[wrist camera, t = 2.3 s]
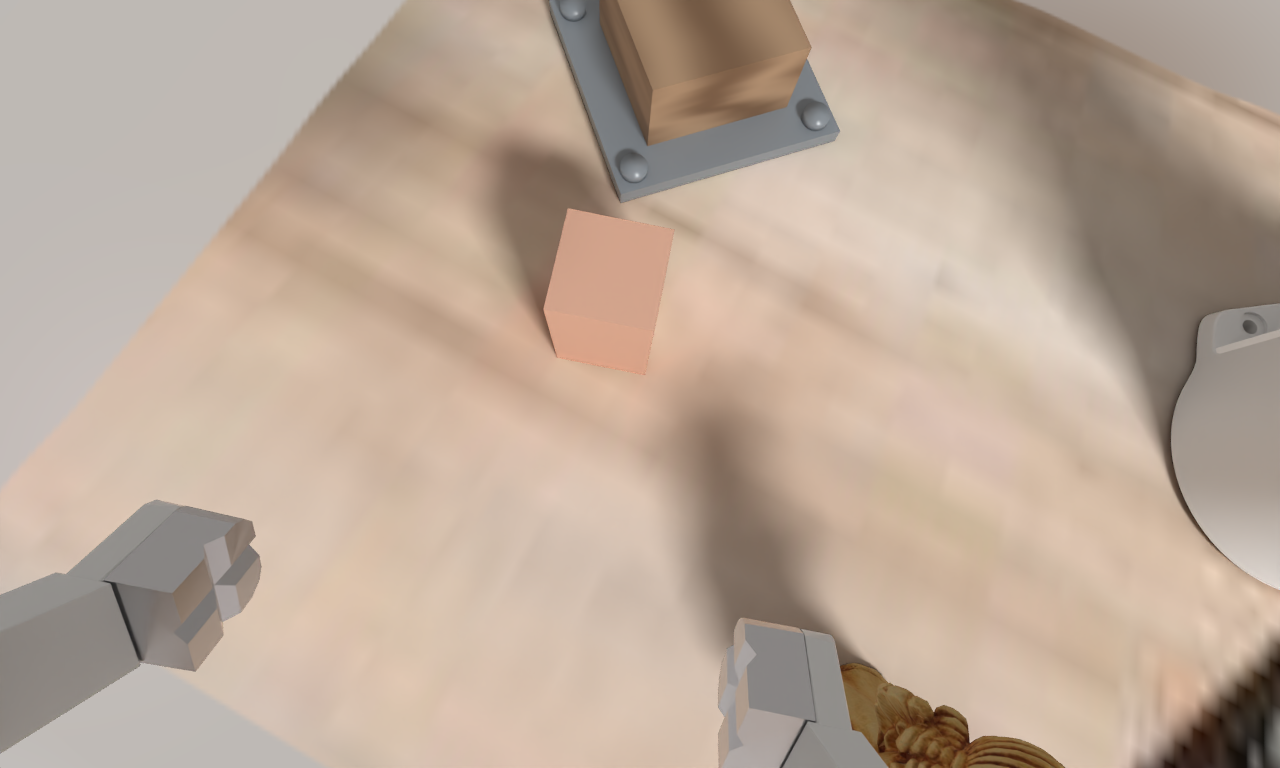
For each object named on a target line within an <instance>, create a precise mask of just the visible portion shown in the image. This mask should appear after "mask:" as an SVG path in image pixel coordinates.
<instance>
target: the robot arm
mask: <svg viewBox="0 0 1280 768" xmlns="http://www.w3.org/2000/svg"><path fill="white" fill-rule="evenodd" d="M1243 328H1244V329H1245V330H1244V329H1243ZM1171 451H1172V459H1173V464H1174V469H1175V473H1176V477H1177V480H1178V483H1179V486H1180V489H1181V492H1182V494H1183V497H1184V499H1185V501H1186V503H1187V505H1188V507H1189V509H1190V511H1191V513H1192V515H1193V516H1194V518H1195V519H1196V521H1197V523H1198V524H1199V526H1200V527H1201V528H1202V530H1203V531H1204V533H1205V534H1206V535H1207V536H1208V538H1209V539H1210V540H1211V541H1212V542H1213V544H1214V545H1215V546H1216V547H1217V548H1218V549H1219V550H1220V551H1221V552H1222V553H1223V554H1224V555H1225V556H1226V557H1227V558H1228V559H1230V560H1231V561H1232V562H1233V563H1234V564H1235V565H1237V566H1238V567H1239V568H1241V569H1242V570H1243V571H1245V572H1246V573H1248V574H1249V575H1251V576H1252V577H1254V578H1256V579H1257V580H1259V581H1261V582H1263V583H1265V584H1267V585H1269V586H1271V587H1273V588H1276V589H1278V590H1280V303H1277V304H1269V305H1261V306H1253V307H1245V308H1237V309H1229V310H1224V311H1220V312H1216V313H1212V314H1209V315H1207V316H1205V317H1204V318H1203V319H1202V321H1201V323H1200V326H1199V330H1198V337H1197V358H1196V364H1195V367H1194V369H1193V371H1192V373H1191V375H1190V377H1189V379H1188V380H1187V382H1186V384H1185V386H1184V388H1183V389H1182V391H1181V394H1180V396H1179V398H1178V401H1177V404H1176V407H1175V411H1174V415H1173V420H1172V429H1171ZM255 537H256V535H255V531H254V527H253V523H252V521H249V520H245V519H241V518H237V517H232V516H228V515H224V514H219V513H215V512H210V511H206V510H202V509H197V508H193V507H188V506H183V505H178V504H174V503H169V502H164V501H160V500H154V501H152V502H149V503H147V504H144V505H143V506H142V507H141V508H140V509H138V510H137V511H136V512H135V513H134V514H133V515H132V516H131V517H129V518H128V519H127V520H126V521H125V522H124V523H123V524H122V525H121V526H119V527H118V528H117V529H116V530H115V531H114V532H113V533H112V534H110V535H109V536H108V537H107V538H106V539H105V540H104V541H103V542H101V543H100V544H99V545H98V546H97V547H96V548H95V549H94V550H93V551H91V552H90V553H89V554H88V555H87V556H86V557H85V558H84V559H82V560H81V561H80V562H79V563H78V564H77V565H76V566H75V567H74V568H72V569H71V570H70V571H69V572H68V573H67V574H62V573H54V574H51V575H49V576H46V577H44V578H41V579H39V580H37V581H34V582H32V583H29V584H27V585H24V586H22V587H19V588H17V589H14V590H12V591H9V592H7V593H4V594H2V595H0V753H2V752H4V751H5V750H7V749H8V748H10V747H11V746H13V745H15V744H16V743H18V742H19V741H21V740H23V739H24V738H26V737H27V736H29V735H31V734H32V733H34V732H35V731H37V730H39V729H40V728H42V727H43V726H45V725H47V724H48V723H50V722H51V721H53V720H55V719H56V718H58V717H59V716H61V715H62V714H64V713H66V712H67V711H69V710H70V709H72V708H74V707H75V706H77V705H78V704H80V703H82V702H83V701H85V700H86V699H88V698H90V697H91V696H93V695H94V694H96V693H98V692H99V691H101V690H102V689H104V688H105V687H107V686H109V685H110V684H112V683H114V682H115V681H117V680H118V679H120V678H122V677H123V676H125V675H126V674H127V673H129V672H131V671H132V670H134V669H136V668H137V667H139V666H140V662H141V663H147V664H153V665H159V666H165V667H171V668H177V669H183V670H189V671H195V672H196V670H197V669H198V668H199V667H200V665H201V664H202V663H203V661H204V660H205V659H206V657H207V656H208V655H209V654H210V652H211V651H212V650H213V648H214V647H215V646H216V644H217V643H218V642H219V641H220V639H221V638H222V637H223V621H225V620H227V619H229V618H231V617H233V616H235V615H237V614H239V613H241V612H242V610H243V609H244V608H245V606H246V605H247V603H248V602H249V601H250V599H251V598H252V596H253V594H254V592H255V589H256V587H257V584H258V582H259V580H260V572H261V562H260V556H259V555H258V553H257V552H256V551H255V550H254V549H253V548H252V547H251V546H250V545H249V544H250V543H251V541H252V540H253V539H254V538H255ZM718 707H719V709H720V711H721V712H722V714H723V715H724V717H725V718H724V720H723V723H722V725H721V728H720V730H719V733H718V753H719V768H888V767H887V765H886V764H885V763H884V761H883V760H882V759H881V757H880V756H879V755H878V753H877V752H876V751H875V749H874V748H873V747H872V746H871V744H870V743H869V742H868V740H867V739H866V738H865V736H864V735H863V734H862V732H858V731H854V730H852V727H851V722H850V716H849V711H848V706H847V701H846V696H845V691H844V685H843V680H842V675H841V670H840V665H839V660H838V654H837V649H836V644H835V640H834V639H833V637H832V636H831V635H829V634H824V633H819V632H814V631H809V630H804V629H799V628H797V627H791V626H786V625H780V624H775V623H770V622H764V621H759V620H754V619H748V618H743V617H741V618H740V619H739V620H738V622H737V624H736V627H735V629H734V645H732V646H731V647H729V648H727V650H726V653H725V656H724V658H723V661H722V666H721V671H720V676H719V687H718Z"/></svg>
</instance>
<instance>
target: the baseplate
mask: <svg viewBox="0 0 1280 768" xmlns="http://www.w3.org/2000/svg"><path fill="white" fill-rule="evenodd" d="M549 4H550V13H551V15H552V18H553V21H554V24H555V26H556V29H557V32H558V34H559V37H560V40H561V43H562V45H563V48H564V51H565V53H566V56H567V59H568V62H569V64H570V67H571V70H572V72H573V75H574V78H575V81H576V83H577V86H578V89H579V91H580V94H581V97H582V100H583V102H584V105H585V108H586V110H587V113H588V116H589V119H590V121H591V124H592V127H593V129H594V132H595V135H596V138H597V140H598V143H599V146H600V149H601V151H602V154H603V157H604V159H605V162H606V165H607V168H608V170H609V173H610V176H611V178H612V181H613V184H614V187H615V189H616V192H617V195H618V197H619V200H620V203H622V202H625V201H629V200H632V199H636V198H639V197H643V196H646V195H650V194H653V193H656V192H660V191H663V190H667V189H670V188H674V187H677V186H681V185H684V184H687V183H691V182H694V181H698V180H701V179H705V178H708V177H712V176H715V175H718V174H722V173H725V172H729V171H732V170H736V169H739V168H743V167H746V166H749V165H753V164H756V163H760V162H763V161H767V160H770V159H773V158H777V157H780V156H784V155H787V154H791V153H794V152H798V151H801V150H804V149H808V148H811V147H815V146H818V145H822V144H825V143H829V142H832V141H835V139H836V137H837V135H838V134H839V132H840V130H839V128H838V126H837V123H836V121H835V119H834V117H833V115H832V112H831V110H830V108H829V106H828V104H827V101H826V99H825V97H824V95H823V93H822V91H821V88H820V86H819V84H818V82H817V80H816V77H815V75H814V73H813V71H812V69H811V66H810V64H809V62H808V60H807V59H806V62H805V64H804V67H803V69H802V72H801V74H800V76H799V79H798V81H797V84H796V86H795V88H794V91H793V93H792V96H791V98H790V101H789V103H788V105H787V107H785V108H782V109H778V110H775V111H771V112H767V113H764V114H760V115H757V116H753V117H750V118H746V119H743V120H739V121H735V122H732V123H728V124H725V125H721V126H718V127H714V128H711V129H707V130H703V131H700V132H696V133H693V134H689V135H686V136H682V137H679V138H675V139H671V140H668V141H664V142H661V143H657V144H654V145H650V146H647V144H646V142H645V139H644V136H643V134H642V131H641V129H640V126H639V123H638V121H637V118H636V116H635V113H634V110H633V108H632V105H631V103H630V100H629V97H628V95H627V92H626V90H625V87H624V84H623V82H622V79H621V77H620V74H619V71H618V69H617V66H616V64H615V61H614V59H613V56H612V53H611V51H610V48H609V46H608V43H607V40H606V38H605V35H604V33H603V30H602V27H601V25H600V10H599V0H549Z"/></svg>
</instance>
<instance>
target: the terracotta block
mask: <svg viewBox="0 0 1280 768" xmlns="http://www.w3.org/2000/svg"><path fill="white" fill-rule="evenodd" d="M673 235H674V229H669V228H664V227H659V226H654V225H649V224H644V223H639V222H634V221H629V220H624V219H619V218H614V217H609V216H604V215H599V214H594V213H589V212H584V211H579V210H574V209H569V208H568V210H567V214H566V218H565V222H564V226H563V230H562V234H561V238H560V243H559V247H558V251H557V255H556V259H555V263H554V267H553V271H552V276H551V280H550V284H549V288H548V292H547V296H546V300H545V304H544V308H543V310H544V313H545V317H546V320H547V324H548V327H549V331H550V334H551V338H552V341H553V345H554V348H555V352H556V355H557V358H562V359H567V360H572V361H577V362H582V363H587V364H592V365H597V366H602V367H607V368H612V369H617V370H622V371H627V372H632V373H637V374H642V375H645V371H646V367H647V362H648V358H649V353H650V349H651V344H652V340H653V335H654V331H655V326H656V321H657V316H658V311H659V306H660V300H661V295H662V290H663V285H664V280H665V275H666V270H667V265H668V260H669V255H670V250H671V245H672V240H673Z"/></svg>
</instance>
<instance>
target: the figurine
mask: <svg viewBox="0 0 1280 768" xmlns="http://www.w3.org/2000/svg"><path fill="white" fill-rule="evenodd" d="M840 670H841V675H842V680H843V685H844V691H845V696H846V701H847V706H848V711H849V716H850V722H851V727H852V730H854V731H858V732H862V734H863V735H864V736H865V738H866V739H867V740H868V742H869V743H870V744H871V746H872V747H873V748H874V749H875V751H876V752H877V753H878V755H879V756H880V757H881V759H882V760H883V761H884V763H885V764H886V765H887V767H888V768H1065V767H1064V766H1063V765H1062V764H1061V763H1059V762H1058V761H1057V760H1056V759H1054V758H1053V757H1052V756H1051V755H1050V754H1048V753H1047V752H1046V751H1044V750H1043V749H1041V748H1039V747H1037V746H1035V745H1033V744H1031V743H1028V742H1025V741H1022V740H1020V739H1015V738H1009V737H998V736H982V737H980V738H978V739H976V740H974V741H973V742H971V743H970V742H969V733H968V724H967V721H966V718H965V717H963V716H962V715H961V714H960V713H959V712H958V711H956V710H955V709H953V708H951V707H948V706H945V705H943V706H940V707H937V708H936V709H935V712H933V710H932V709H931V707H930V705H929V703H928V702H927V701H925V700H923V699H922V698H920V697H918V696H914V695H913V693H911V692H910V691H908V690H907V689H904V688H901V687H899V686H894V685H892V684H891V683H888V682H887V681H886V680H885V679H884V678H883V677H882V676H881V674H880V673H879V672H877V671H876V670H875V669H871V668H869V667H867V666H864V665H862V664H858V663H850V664H845V665H842V666H840Z"/></svg>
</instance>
